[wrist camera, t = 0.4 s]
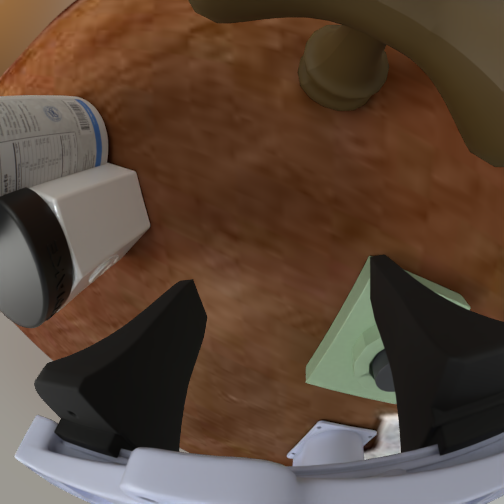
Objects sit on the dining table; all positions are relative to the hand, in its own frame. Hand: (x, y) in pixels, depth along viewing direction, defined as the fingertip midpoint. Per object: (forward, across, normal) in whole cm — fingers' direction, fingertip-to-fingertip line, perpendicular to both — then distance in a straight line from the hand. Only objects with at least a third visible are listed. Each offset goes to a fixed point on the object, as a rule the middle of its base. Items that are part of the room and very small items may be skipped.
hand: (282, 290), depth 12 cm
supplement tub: (+12, +17, -8) cm, 22 cm away
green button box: (+9, -7, +12) cm, 17 cm away
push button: (+5, -7, +12) cm, 15 cm away
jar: (+11, +15, -2) cm, 18 cm away
